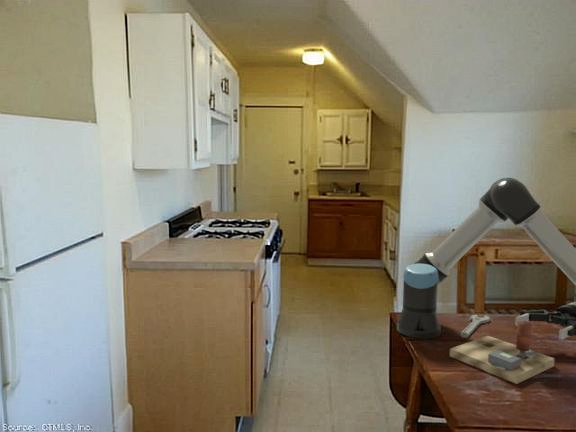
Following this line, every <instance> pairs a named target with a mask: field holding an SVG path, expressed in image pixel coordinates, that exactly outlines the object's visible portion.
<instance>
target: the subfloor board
mask: <svg viewBox="0 0 576 432" xmlns="http://www.w3.org/2000/svg"><path fill="white" fill-rule="evenodd" d="M498 350H499V351H502V352H505V353H508V354H510V355H513V356H516V357H519V353H520V350H518V349H516V344H513V343H511V342H507V341H505V340H503V339H500V338H495V337H493V336H490V335H486V336H482V337H479V338H476V339H473V340H471V341H468V342H465V343H463V344H460V345H456V346H453V347H451V348H449V357H450V358H453V359H456V360H457V361H460V362H463V363H465V364H468V365H470V366H472V367H474V366H475V368H476V369H480V370H482V371H484V372H487V373H489V374H491V375H493V376H497V377H499V378H501V379H504V380H506V381H509V382H511V383H513V384H515V385H517V384H520V383H522V382H523V381H526V380H527V379H530V378H532V377H534V376H536V375H539V374H541V373H542V372H544V371H548V370H550V369H551V368H553V367H555V357H552V356H549V355H546V354H543V353H541V352H537V351H535V350H531V349H530V350H529V351H526V353H525V360H524V359H522V358H521V366H520V367H518V368H516V369H513V370H511V371H510V370H508V369H505V368H503V367H500V366H497V365H495V364H492V363H490V362H488V355H489V354H490V353H492V352H495V351H498Z"/></svg>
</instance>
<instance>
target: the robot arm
mask: <svg viewBox="0 0 576 432" xmlns="http://www.w3.org/2000/svg"><path fill="white" fill-rule="evenodd" d="M508 219H509V221H511V223H513V224H514V226H516V227H520V228H522V229H523V231H525V233H526V234H527V235H528V236H529V237H530V238H531V239H532V240H533V241H534V242H535V244H537V245H538V247H539V248H540V249H541V250H542V251H543V253H545V254H546V255H547V256H548V258H550V260H551V261H553V262H554V263H555V265H556V266H557V267H558V268H559V269H560V270H561V271H562V272H563V274H564V275H566V277H567V278H568V279H569V281H571V282H572V283H573V285H574V286H575V288H574V289H575V290H574V292H575V293H574V302H570V303H566V304H565V305H561V306H559V307H558V308H557V309H556V310H555V311H548V309H547V308H543V309H530V310H529V309H527V310H519V315H518V316H515V323H514V325H515V326H517V327H518V322H519V321H526V322H529V323H530V322H544V323H545V322H546V323H547V324H555V325H559V326H560V327H563V328H561V329H559V330H558V331H559V332H558V340H561V341H562V340H564V339H566V338H568V337H573V336H576V247H575V246H574V245H573V244H572V243H571V242H570V241H569V239H567V238H566V236H565V235H563V233H562V232H561V231H560V230H559V229H558V227H556V226H555V225H554V224H553V223H552V222H551V221H550V220H549V218H547V217H546V215H545V214H544V213H543V212H542V206H541V205H540V204H539V203H538V202H537V200H536V199H535V198H534V196H532V193H530V191H529V189H528V188H527V186H526V185H525V184H524V183H523V182H521V181H519V180H518V179H516V178H513V177H502V178H499V179H498V180H496V181H495V182H493V183H492V185H491V187H490V188H489V189H488V190H487V191H486V192H485V193H484V194H483V195H482V197H481V198H479V199H478V206H477V207H476V209H474V210H473V211H472V212H471V214H469V215H468V216H467V217H466V218H465V219H464V220H463V221H462V222H461V223H460V225H458V227H456V228H455V229H454V230H453V231H452V233H450V234H449V235H448V236H447V237H446V238H445V239H444V240H443V241H442V242H441V243H440V244H439V245H438V246H437V247H436V248H435V249H434V250H433V251H432V252H426V253H425V254H423V255H422V257H420V258H419V259H418V260H417V261H415V262H414V263H412V264H409V265H407V266H406V267H404V270H403V271H404V272H403V275H402V276H403V278H402V279H403V291H402V293H403V294H402V309H401V312H400V314H399V316H398V317H399V318H398V320H397V323H396V330H397V332H398V333H399V334H401V335H404V336H405V337H409V338H414V339H422V340H423V339H424V340H425V339H426V340H427V339H434V338H437V337H440V336H441V333H442V332H441V330H442V329H441V328H442V327H441V324H440V320H439V316H438V311H437V310H438V309H437V307H438V306H437V305H438V288H439V286H440V285H441V284H442V283H443V282H444V281H445V280H446V279H447V277H449V276H450V275H451V272H450V270H451V269H452V267H453V266H454V265H456V263H457V262H459V261H460V260H461V258H462V257H463V256H464V255H465V254H466V253H468V252H469V251H470V250H471V249H472V248H473V247H474V246H475V245H476V244H477V243H478V242H479V241H480V240H481V239H482V238H483V237H484V236H485V235H486V234H487V233H488V232H490V231H491V229H493V228H494V226H496V224H498V223H505V222H506V221H508Z"/></svg>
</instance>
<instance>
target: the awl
mask: <svg viewBox="0 0 576 432" xmlns="http://www.w3.org/2000/svg"><path fill="white" fill-rule="evenodd" d="M516 330H517V331H516V343H515V345H516V349H518V350H520V353H519V358H522V359H524V360H525V353H526V351H529V350H531V349H530V347H531V346H530V345H531V335H532V334H531V332H532V323H531V322H530V321H529V322H526V321H519V322H518V326H517V329H516Z"/></svg>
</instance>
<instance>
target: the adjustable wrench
mask: <svg viewBox="0 0 576 432" xmlns="http://www.w3.org/2000/svg"><path fill="white" fill-rule="evenodd" d="M469 321H472V322H470V323H469V324H468V325H467V326H466V327H465V328H464V329H463V330H462V331H461V332H460V337H461V338H464V339H465V338H467V339H468V338H469V337H470V335H472V333H474V331H476V329H477V328H478V327H479V326H480V325H481V324H482V323H483V324H486V322H487V323H490V316H488V315H485V314H484V316H483V317H479V316H478V314H472V315H471V316H469Z"/></svg>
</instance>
